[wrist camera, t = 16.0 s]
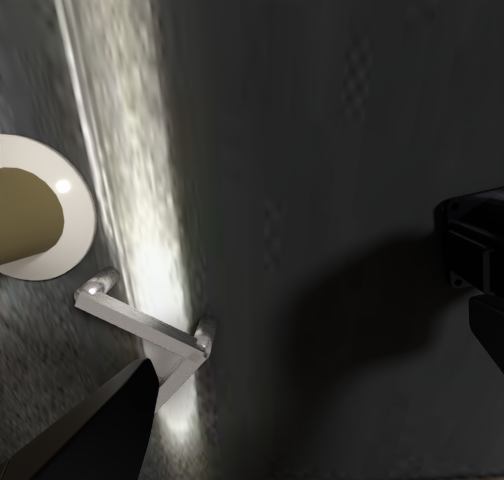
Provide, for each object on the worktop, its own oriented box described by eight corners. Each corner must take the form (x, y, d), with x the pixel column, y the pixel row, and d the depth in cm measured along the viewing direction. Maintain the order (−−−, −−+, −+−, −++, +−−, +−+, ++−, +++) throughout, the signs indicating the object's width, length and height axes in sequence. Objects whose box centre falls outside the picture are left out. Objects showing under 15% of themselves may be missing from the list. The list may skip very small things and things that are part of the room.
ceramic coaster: (61, 117, 19) (53, 116, 18) (118, 260, 22) (113, 264, 21) (-75, 155, 20) (-88, 156, 19) (-3, 287, 23) (-12, 292, 22)
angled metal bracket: (193, 247, 22) (179, 269, 18) (234, 375, 25) (229, 416, 21) (98, 268, 22) (65, 293, 19) (149, 390, 26) (130, 431, 22)
